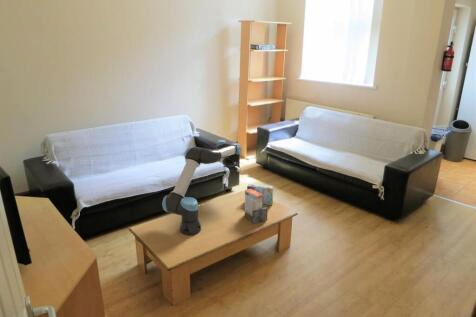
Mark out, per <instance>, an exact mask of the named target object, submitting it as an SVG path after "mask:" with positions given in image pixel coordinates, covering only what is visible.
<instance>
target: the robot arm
mask: <svg viewBox="0 0 476 317" xmlns="http://www.w3.org/2000/svg"><path fill="white" fill-rule="evenodd" d="M242 151H243V150H242V146H241V145H239V144H233V143H227V141H226V140H225V139H219V140H217V142H216V149H210V148H203V147H198V146H189V147H188V148H187V149H186V150H185V152H184V159H185V164H184V167H183V169H182V171H181V174H180V176H179V177H178V180H177V182H176V184H175V186H174V189H173V190H172V191H170V192H169V194H167V195H165V196H164V197H163V199H162V203H161V204H162V209H163V210H164V211H165V213H168V214H172V215H173V214H174V215H177V216H180V217H181V222H180V225H179V233H181V234H182V235H185V236H194V235H197V234H199V233H200V232H201V230H202V224H201V223H200V220H199V205H198V200H197V199H196V198H194V197H191V196H190V197H189V196H188V197H187V196H185V195H186V193H187V191H188V188H189V186H190V184H191V182H192V178H193V177H194V175H195V172H196V169H197V168H199V167H201V165H202V164H203V165H211V164H215V163H218V162H220V163H221V164H222V165H223V167H224V168H228V169H229V170H233V171H237V172H238V173H241V170H242V169H241V168H240V164H239V163H238V161H234V160H232V158H230V156H232V155H240V154H241V153H242Z"/></svg>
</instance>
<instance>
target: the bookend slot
mask: <svg viewBox="0 0 476 317" xmlns="http://www.w3.org/2000/svg"><path fill="white" fill-rule="evenodd" d="M268 210H269V209H268V207H267V206H266V207H262V209H258V210H254V211H252V217H251V216H250V215H248V214H247V213H246V212H245V211H244V217H245V218H246V219H247V220H248V221H249V222H251V223H252V224H257V223H261V222H264V221H267V220H268Z"/></svg>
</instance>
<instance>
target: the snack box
mask: <svg viewBox="0 0 476 317" xmlns="http://www.w3.org/2000/svg"><path fill="white" fill-rule="evenodd" d="M248 189H252V190H254V191H256V192H258V193H260V194H262V195H263V198H262V205H267V206H272V205H273V203H274V186H273V185H264V184H263V185H262V184H257V183H256V184H254V183H248V184H247V186H246V190H248Z"/></svg>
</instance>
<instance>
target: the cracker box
mask: <svg viewBox="0 0 476 317" xmlns="http://www.w3.org/2000/svg"><path fill="white" fill-rule="evenodd" d="M262 198H263V195H262V194H260V193H258V192H256V191H254V190H252V189H248V190H247V189H245V190H244V213H245V212H246V213H247V214H248V215H250V216H251V217H252V211H254V210H258V209H262V208H263V204H262Z"/></svg>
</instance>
